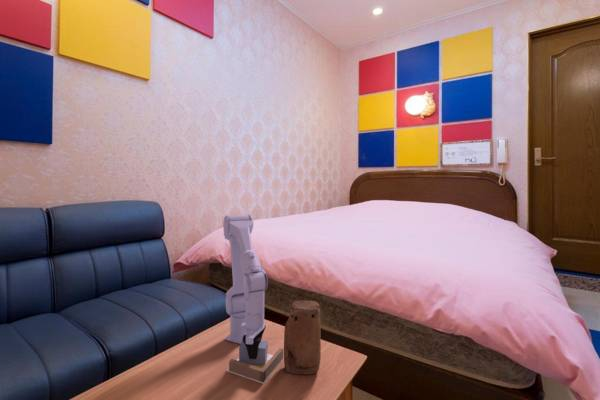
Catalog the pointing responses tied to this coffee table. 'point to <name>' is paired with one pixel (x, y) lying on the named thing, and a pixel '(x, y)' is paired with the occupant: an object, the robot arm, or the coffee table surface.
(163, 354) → the coffee table surface
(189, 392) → the coffee table surface
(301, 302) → the brown tall cylinder
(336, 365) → the coffee table surface
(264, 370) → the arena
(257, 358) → the bar
